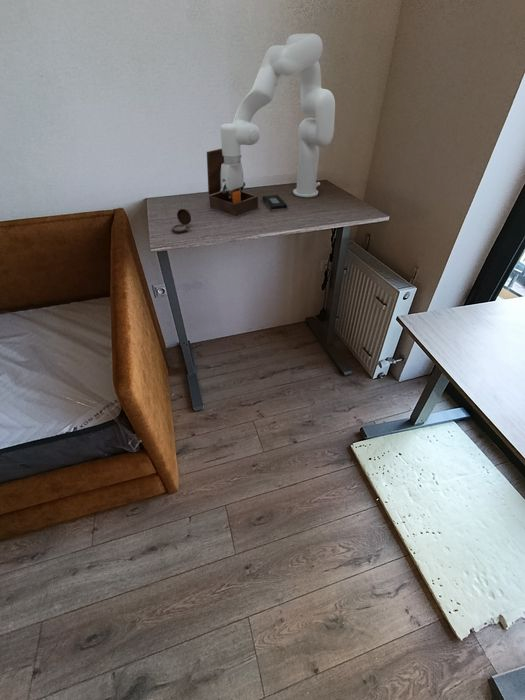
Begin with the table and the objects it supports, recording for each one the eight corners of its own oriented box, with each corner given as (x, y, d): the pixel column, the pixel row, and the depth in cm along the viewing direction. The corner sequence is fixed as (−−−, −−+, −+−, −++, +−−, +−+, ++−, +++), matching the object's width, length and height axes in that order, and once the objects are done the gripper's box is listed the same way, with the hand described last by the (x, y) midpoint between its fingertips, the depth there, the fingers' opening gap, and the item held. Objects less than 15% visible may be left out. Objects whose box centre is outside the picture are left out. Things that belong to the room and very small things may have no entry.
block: (234, 204, 154) (233, 188, 150) (241, 207, 152) (240, 191, 147) (227, 207, 152) (226, 191, 147) (233, 209, 150) (233, 193, 145)
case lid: (233, 146, 144) (224, 143, 146) (207, 152, 136) (199, 148, 138) (232, 187, 156) (225, 184, 158) (209, 194, 148) (201, 191, 150)
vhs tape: (270, 211, 151) (271, 206, 149) (262, 200, 161) (262, 196, 160) (286, 209, 152) (286, 205, 151) (277, 199, 162) (277, 194, 161)
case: (258, 209, 152) (257, 196, 148) (235, 218, 144) (234, 204, 141) (233, 200, 160) (232, 188, 157) (210, 208, 152) (209, 195, 149)
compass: (169, 232, 133) (165, 213, 128) (180, 224, 139) (177, 206, 134) (186, 235, 131) (183, 216, 126) (197, 228, 136) (194, 209, 131)
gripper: (239, 154, 145) (241, 198, 158) (210, 161, 136) (214, 207, 148) (252, 157, 142) (252, 202, 154) (222, 165, 132) (225, 212, 145)
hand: (233, 204), depth 151 cm, fingers closed on block, 4 cm apart
